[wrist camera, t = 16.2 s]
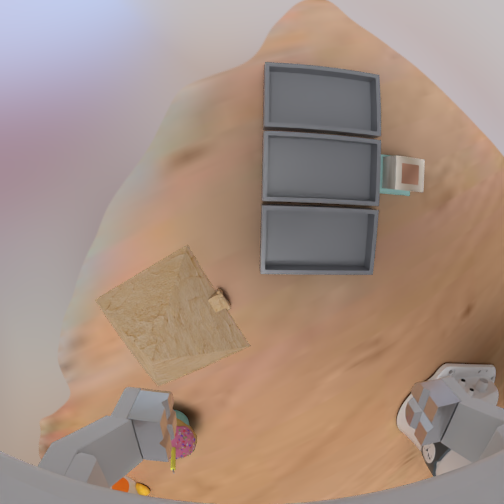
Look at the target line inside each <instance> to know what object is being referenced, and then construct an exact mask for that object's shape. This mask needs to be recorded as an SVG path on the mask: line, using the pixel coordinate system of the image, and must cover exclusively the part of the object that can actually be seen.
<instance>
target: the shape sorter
mask: <svg viewBox="0 0 504 504" xmlns="http://www.w3.org/2000/svg"><path fill="white" fill-rule="evenodd" d="M110 489H114V490H118V491H123V492H128V493H133V494H138V495H144V496H147V495H148V494H149V493H150V490H149V489H148V488H147V487H146V486H144V485H142V484H140V483H136V482H135V481H133V480H132V479H130V478H129V477H127V476H124V477H123V478H121V479H120V480H119V481H118V482H116V483H115V484H114V485H113V486H111V487H110Z"/></svg>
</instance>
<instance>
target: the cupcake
mask: <svg viewBox="0 0 504 504" xmlns="http://www.w3.org/2000/svg"><path fill="white" fill-rule="evenodd" d="M174 411H175V412H176V420H177V426H176V434H175V438H174V439H173V440H171V444H172V451H171V455H170V458H171V470H173V473H174V470H175V461H176V459H177V458H184V457H185V456H188V455H190V454H191V453H192V452H193V451H194V449H195V447H196V444H197V435H196V434H195V432H194V431H193V429H192V428H191V427H190V426H189V421H188V418H187V417H186V415H185V414H183V413H182V412H180V411H177V410H174Z"/></svg>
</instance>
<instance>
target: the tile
mask: <svg viewBox="0 0 504 504" xmlns="http://www.w3.org/2000/svg"><path fill="white" fill-rule="evenodd" d="M95 301H96V302H97V304H98V305H99V307H100V308H101V310H102V311H103V313H104V314H105V316H106V317H107V319H108V320H109V322H110V323H111V325H112V326H113V328H114V329H115V331H116V332H117V333H118V335H119V336H120V338H121V339H122V341H123V342H124V343H125V345H126V346H127V347H128V349H129V350H130V352H131V353H132V354H133V356H134V357H135V358H136V360H137V361H138V362H139V364H140V365H141V366H142V367H143V369H144V370H145V371H146V373H147V374H148V375H149V376H150V378H151V379H152V380H153V381H154V383H155V384H156V385H157V386H161V385H163V384H166V383H168V382H171V381H173V380H175V379H178V378H180V377H183V376H185V375H187V374H190V373H192V372H194V371H197V370H199V369H201V368H203V367H206V366H208V365H210V364H212V363H215V362H217V361H219V360H221V359H224V358H226V357H228V356H230V355H232V354H234V353H237V352H239V351H241V350H243V349H245V348H247V347H249V346H250V344H249V343H248V341H247V340H246V338H245V337H244V335H243V334H242V332H241V330H240V329H239V327H238V326H237V324H236V323H235V321H234V320H233V318H232V316H231V315H230V313H229V312H228V310H230V309H231V307H230V306H231V304H230V303H229V300H226V299H225V297H224V295H223V291H222V289H220V288H218V290H217V292H216V291H215V289H214V288H213V286H212V284H211V283H210V281H209V279H208V278H207V276H206V275H205V273H204V271H203V270H202V268H201V266H200V265H199V263H198V261H197V260H196V258H195V256H194V255H193V253H192V251H191V250H190V248H189V246H188V245H187V246H185V247H183V248H181V249H180V250H178V251H176V252H174V253H173V254H171V255H169V256H168V257H166V258H164V259H162V260H161V261H159V262H157V263H156V264H154V265H152V266H150V267H149V268H147V269H145V270H144V271H142V272H140V273H139V274H137V275H135V276H134V277H132V278H130V279H129V280H127V281H125V282H124V283H122V284H120V285H119V286H117V287H115V288H114V289H112V290H110V291H109V292H107V293H106V294H104V295H102V296H101V297H99V298H97V299H96V300H95Z"/></svg>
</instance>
